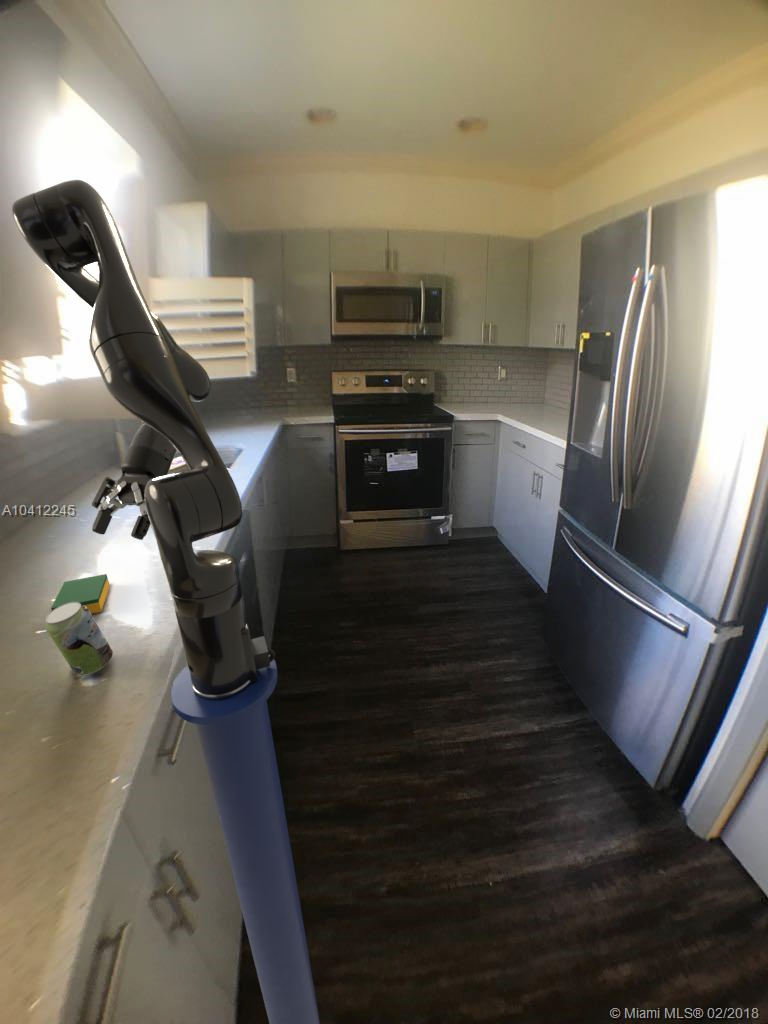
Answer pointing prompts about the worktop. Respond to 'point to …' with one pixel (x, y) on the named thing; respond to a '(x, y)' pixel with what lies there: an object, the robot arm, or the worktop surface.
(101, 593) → the sponge
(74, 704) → the worktop surface
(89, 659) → the beverage can
